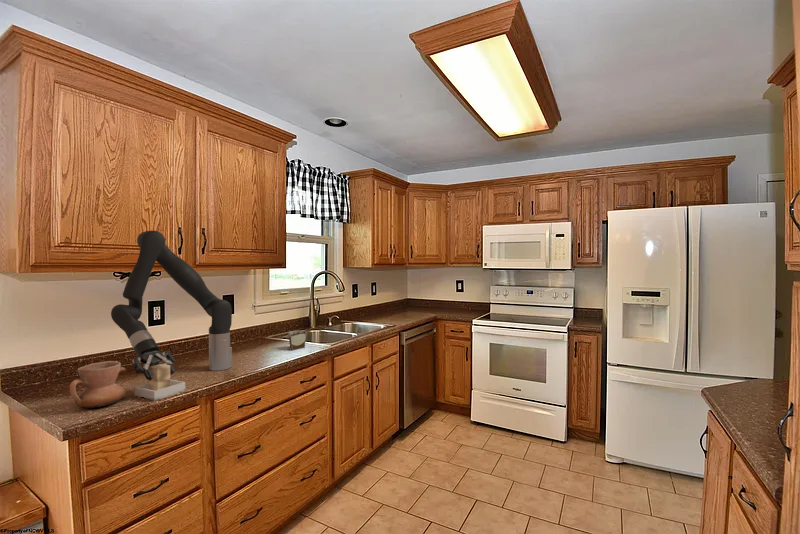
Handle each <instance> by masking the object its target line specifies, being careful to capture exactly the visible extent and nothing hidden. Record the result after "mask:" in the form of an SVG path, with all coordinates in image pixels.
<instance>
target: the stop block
mask: <svg viewBox="0 0 800 534" xmlns="http://www.w3.org/2000/svg"><path fill="white" fill-rule="evenodd" d="M148 370H150V372H151V374H152V376H153V378H152V380H150V381H149V383H150V390H154V391H156V390H160V389H163V388H166V387H170V379H171V375H170V365H166V364H158V365H153V366H149V367H148Z"/></svg>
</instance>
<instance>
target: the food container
mask: <svg viewBox="0 0 800 534" xmlns="http://www.w3.org/2000/svg"><path fill="white" fill-rule="evenodd" d="M307 334H308V333H307V330H293V331H289V332H288V333H287V338H288V341H289V350H290V351H293V352H294V351H298V350H302V349H305V348H306V340H307V339H306V337H307Z"/></svg>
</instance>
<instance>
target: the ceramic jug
mask: <svg viewBox="0 0 800 534" xmlns="http://www.w3.org/2000/svg"><path fill="white" fill-rule="evenodd" d="M126 369H127V368H126V367H123V366H122V364H121V362H120V361H117V360H110V361H107V360H106V361H101V362H95V363H94V362H93V363H90V364H87V365H84V366H80V367H79V368H77V374H78V375H79V378H77V379H74V380H73V381H71V382H70V385H69V393H70V395H71V397H72V398H73V399H74V403H75V405H77V406H78V407H81V408H89V409H94V407H97V408H102V407H101V406H103V407H106V405H107V406H110V405H112V404H115V403H118V402H119V401H120V400H122V398H124V397H125V395H126V389H125V387H124V386H122V385H120V384H118V383H116V380H117V378H118V376H119V374H120V373H121V372H125V371H126ZM78 384H83V385H84V386H85V388H84V389H83V390H82V391H80V393H78V392H77V389H76V388H77V385H78Z"/></svg>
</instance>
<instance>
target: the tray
mask: <svg viewBox="0 0 800 534" xmlns="http://www.w3.org/2000/svg"><path fill="white" fill-rule="evenodd" d="M183 392H184V393H185V392H186V382H185V381H181V380H176V379H171V378H170V387H166V388H163V389H160V390H156V391H154V390H150V382H147V383H144V384H140V385H137V386H134V396H135V395H136V396H140V397H144V398H147V399H146V400H148V399H151V400H150V401H153V400H154V401H153V402H156V401H158V399H159V400H162V399H165V398H168V397H169V398H170V397H171V396H175V395H177V394H180V393H183ZM136 396H135V397H136ZM140 397H139V398H140ZM144 398H143V399H144ZM155 400H156V401H155Z"/></svg>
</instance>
